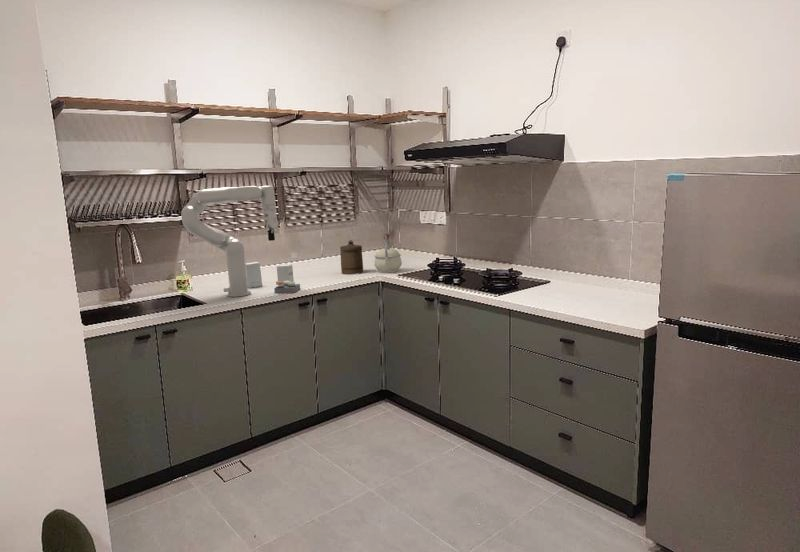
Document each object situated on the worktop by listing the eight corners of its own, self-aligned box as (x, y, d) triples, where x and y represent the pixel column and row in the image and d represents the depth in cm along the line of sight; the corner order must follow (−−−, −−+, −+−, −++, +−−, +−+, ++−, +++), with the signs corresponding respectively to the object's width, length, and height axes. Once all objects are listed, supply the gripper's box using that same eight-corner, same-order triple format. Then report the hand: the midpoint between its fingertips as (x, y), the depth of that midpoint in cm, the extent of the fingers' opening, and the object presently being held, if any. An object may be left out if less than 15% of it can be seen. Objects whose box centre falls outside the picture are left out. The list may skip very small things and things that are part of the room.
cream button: (282, 284, 299) (282, 282, 299) (285, 283, 303) (284, 280, 303) (289, 284, 299) (289, 281, 298) (291, 283, 303) (291, 280, 302)
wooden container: (365, 270, 363) (363, 239, 359) (360, 274, 348) (358, 241, 345) (344, 271, 365) (342, 239, 361) (339, 274, 350) (336, 242, 347)
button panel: (274, 293, 293) (274, 287, 292) (281, 289, 304) (281, 283, 304) (293, 293, 291) (293, 287, 291) (300, 288, 303) (299, 283, 303)
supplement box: (289, 286, 313) (287, 265, 311) (278, 287, 314) (276, 266, 312) (294, 284, 320) (292, 264, 318) (283, 284, 321) (281, 264, 319)
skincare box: (260, 285, 324) (257, 261, 321) (262, 286, 319) (260, 262, 316) (246, 287, 320) (244, 263, 317) (248, 288, 315) (246, 263, 312)
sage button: (286, 286, 294) (286, 283, 294) (289, 284, 298) (288, 282, 298) (293, 285, 293) (293, 283, 293) (295, 284, 297) (295, 281, 297)
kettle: (376, 269, 364) (374, 233, 360) (402, 268, 363) (400, 232, 359) (373, 275, 340) (370, 237, 336) (401, 274, 339) (399, 235, 335)
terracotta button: (275, 284, 292) (274, 282, 292) (277, 283, 296) (277, 280, 296) (282, 284, 292) (281, 281, 292) (284, 283, 296) (284, 280, 296)
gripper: (270, 208, 287) (273, 241, 290) (279, 207, 302) (282, 238, 305) (257, 208, 288) (260, 242, 291) (267, 207, 303) (270, 239, 305)
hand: (271, 240), depth 298 cm, fingers closed
